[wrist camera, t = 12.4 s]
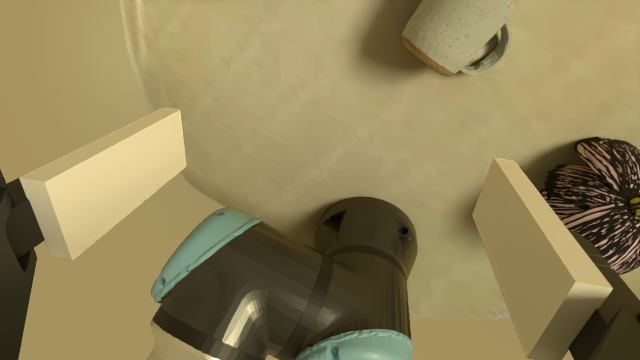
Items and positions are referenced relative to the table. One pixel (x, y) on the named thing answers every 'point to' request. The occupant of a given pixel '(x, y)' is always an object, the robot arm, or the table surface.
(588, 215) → the decorative flower
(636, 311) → the robot arm
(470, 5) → the ceramic mug
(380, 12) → the table surface
